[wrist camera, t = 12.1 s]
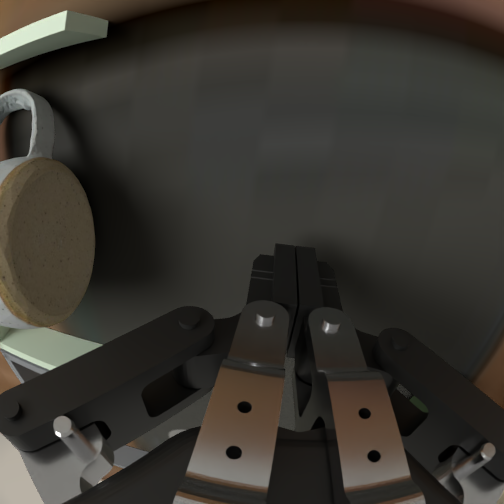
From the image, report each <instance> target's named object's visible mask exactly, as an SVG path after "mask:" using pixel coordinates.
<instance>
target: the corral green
mask: <svg viewBox="0 0 504 504" xmlns="http://www.w3.org/2000/svg"><path fill="white" fill-rule="evenodd" d="M107 29H108V21H107V20H103V19H100V18H96V17H93V16H89V15H85V14H81V13H76V12H72V11H68V10H67V11H64V12H61V13H58V14H55V15H53V16H50V17H47V18H45V19H42V20H40V21H37V22H35V23H33V24H30V25H28V26H26V27H23V28H21V29H19V30H17V31H15V32H13V33H11V34H9V35H7V36H5V37H3V38H1V39H0V69H3V68H5V67H8V66H10V65H13V64H15V63H18V62H20V61H23V60H26V59H28V58H31V57H34V56H37V55H40V54H43V53H46V52H49V51H53V50H56V49H60V48H63V47H67V46H70V45H74V44H78V43H82V42H87V41H91V40H95V39H100V38H105V37H107ZM102 345H103V344H99V343H95V342H92V341H88V340H84V339H81V338H77V337H74V336H71V335H67V334H64V333H61V332H58V331H55V330H52V329H49V328H46V327H43V328H35V329H17V328H10V327H5V326H1V325H0V348H2V349H4V350H6V351H8V352H10V353H12V354H14V355H16V356H18V357H20V358H23V359H25V360H27V361H29V362H32V363H34V364H36V365H39V366H41V367H43V368H46V369H48V370H52V369H54V368H56V367H58V366H60V365H62V364H64V363H67V362H69V361H71V360H73V359H75V358H77V357H79V356H81V355H83V354H85V353H87V352H89V351H92V350H94V349H96V348H98V347H100V346H102Z"/></svg>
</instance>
